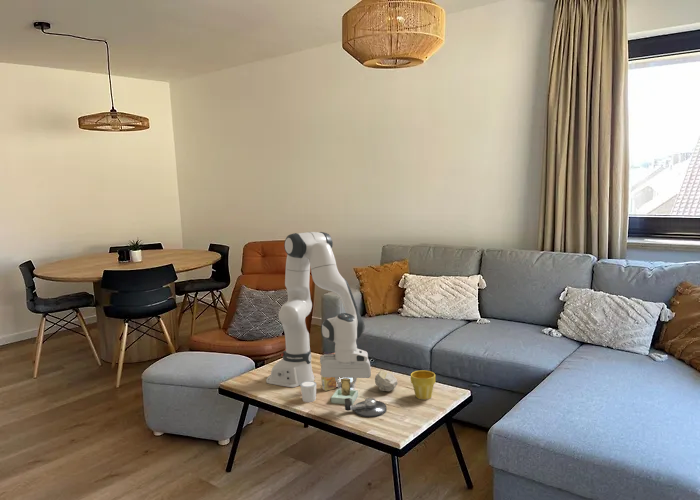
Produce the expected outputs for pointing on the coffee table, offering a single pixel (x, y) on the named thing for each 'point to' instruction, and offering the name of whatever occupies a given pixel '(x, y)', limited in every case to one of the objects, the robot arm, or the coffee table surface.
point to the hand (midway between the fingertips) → (345, 387)
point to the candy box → (328, 382)
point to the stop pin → (345, 386)
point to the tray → (344, 397)
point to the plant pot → (423, 383)
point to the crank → (369, 404)
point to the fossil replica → (385, 381)
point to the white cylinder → (308, 391)
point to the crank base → (372, 410)
